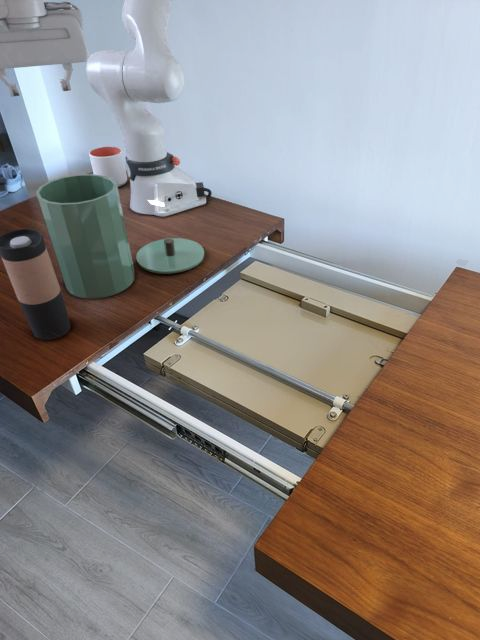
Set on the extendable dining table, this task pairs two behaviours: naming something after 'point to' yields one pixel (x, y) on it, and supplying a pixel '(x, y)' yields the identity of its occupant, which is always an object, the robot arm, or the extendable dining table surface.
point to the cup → (109, 164)
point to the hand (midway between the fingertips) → (41, 92)
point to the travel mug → (35, 282)
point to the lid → (170, 255)
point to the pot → (88, 234)
